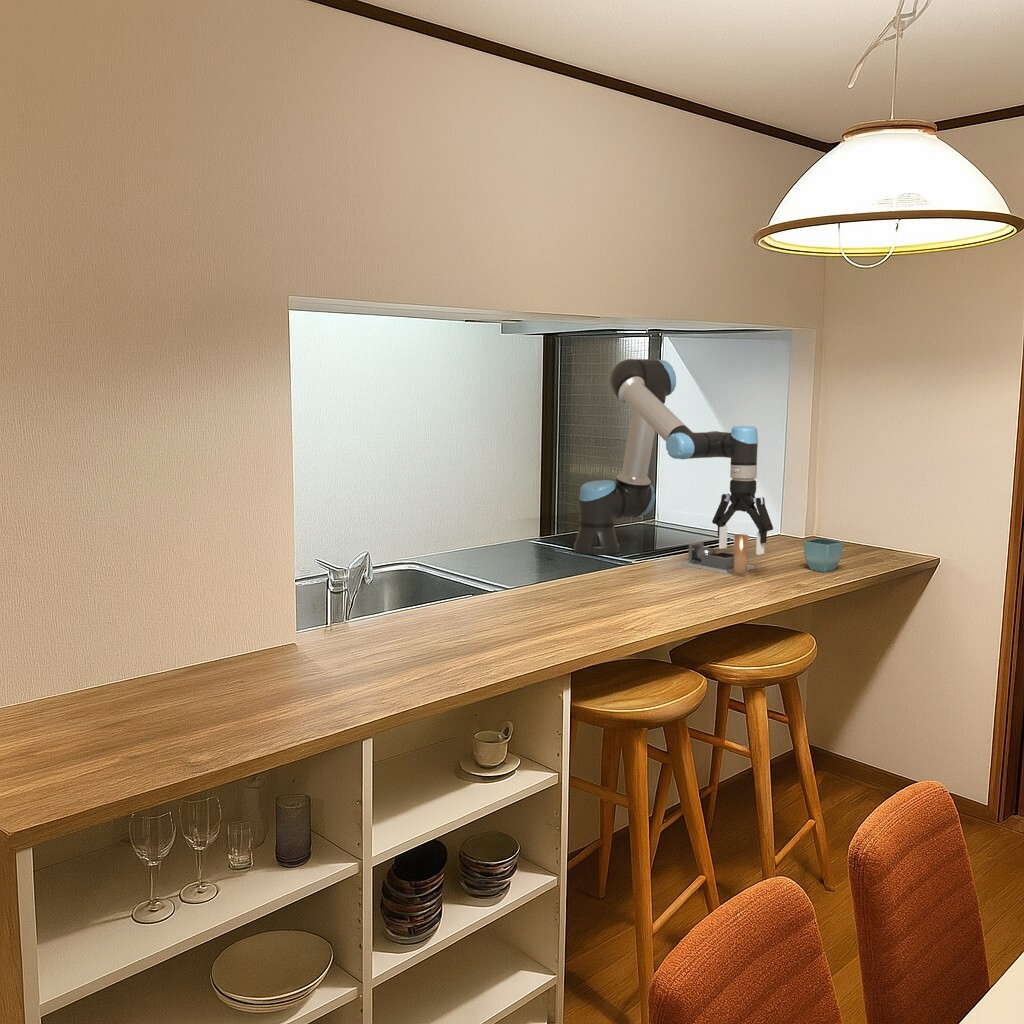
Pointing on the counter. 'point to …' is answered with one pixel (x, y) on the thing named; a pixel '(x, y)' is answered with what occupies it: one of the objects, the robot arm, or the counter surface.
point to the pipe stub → (740, 555)
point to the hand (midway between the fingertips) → (741, 551)
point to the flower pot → (823, 554)
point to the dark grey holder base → (710, 559)
